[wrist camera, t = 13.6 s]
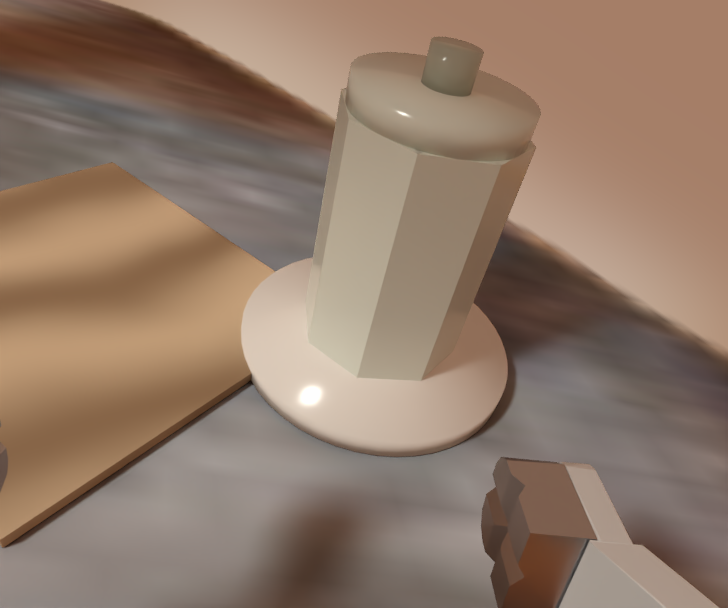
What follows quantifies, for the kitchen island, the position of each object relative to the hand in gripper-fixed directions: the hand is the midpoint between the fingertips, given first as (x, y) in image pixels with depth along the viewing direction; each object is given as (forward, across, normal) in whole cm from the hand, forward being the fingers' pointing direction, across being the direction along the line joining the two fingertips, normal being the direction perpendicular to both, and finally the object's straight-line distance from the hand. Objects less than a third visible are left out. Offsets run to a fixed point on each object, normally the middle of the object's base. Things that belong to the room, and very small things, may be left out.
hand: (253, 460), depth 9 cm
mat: (+13, +9, +5) cm, 17 cm away
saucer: (+13, -3, +6) cm, 15 cm away
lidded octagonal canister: (+14, -3, +5) cm, 15 cm away
